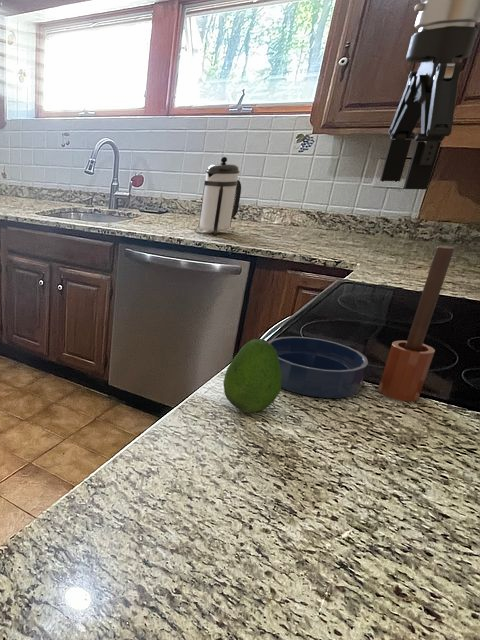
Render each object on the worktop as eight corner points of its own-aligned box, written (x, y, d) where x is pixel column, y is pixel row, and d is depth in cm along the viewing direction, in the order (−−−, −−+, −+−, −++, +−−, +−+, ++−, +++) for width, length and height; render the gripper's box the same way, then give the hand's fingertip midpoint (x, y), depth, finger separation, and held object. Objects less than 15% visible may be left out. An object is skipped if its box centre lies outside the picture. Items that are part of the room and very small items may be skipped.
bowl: (315, 361, 99) (322, 334, 97) (381, 397, 86) (391, 367, 83) (242, 367, 97) (247, 339, 95) (297, 406, 83) (305, 375, 81)
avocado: (254, 427, 78) (269, 352, 73) (209, 406, 84) (220, 336, 79) (285, 412, 82) (301, 341, 77) (240, 393, 88) (253, 326, 83)
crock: (396, 388, 88) (412, 339, 85) (426, 404, 83) (444, 352, 80) (368, 391, 88) (383, 341, 84) (396, 407, 83) (413, 354, 79)
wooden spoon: (389, 389, 87) (435, 244, 77) (404, 391, 86) (452, 245, 76) (391, 397, 85) (438, 248, 75) (406, 399, 84) (456, 249, 74)
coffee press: (235, 237, 212) (248, 157, 200) (194, 235, 217) (204, 157, 205) (234, 229, 227) (246, 155, 215) (195, 228, 232) (205, 155, 220)
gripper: (390, 42, 87) (356, 177, 95) (444, 15, 65) (396, 192, 74) (445, 39, 84) (406, 178, 93) (520, 9, 63) (461, 193, 71)
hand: (401, 185), depth 83 cm, fingers open, 13 cm apart
